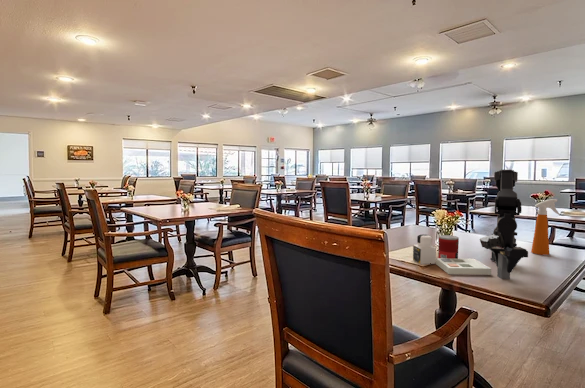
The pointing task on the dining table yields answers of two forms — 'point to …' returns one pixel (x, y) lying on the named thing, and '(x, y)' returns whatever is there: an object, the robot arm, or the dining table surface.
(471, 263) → the socket board
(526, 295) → the dining table surface
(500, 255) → the plug
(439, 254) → the canned food
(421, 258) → the medicine bottle
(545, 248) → the spray bottle
